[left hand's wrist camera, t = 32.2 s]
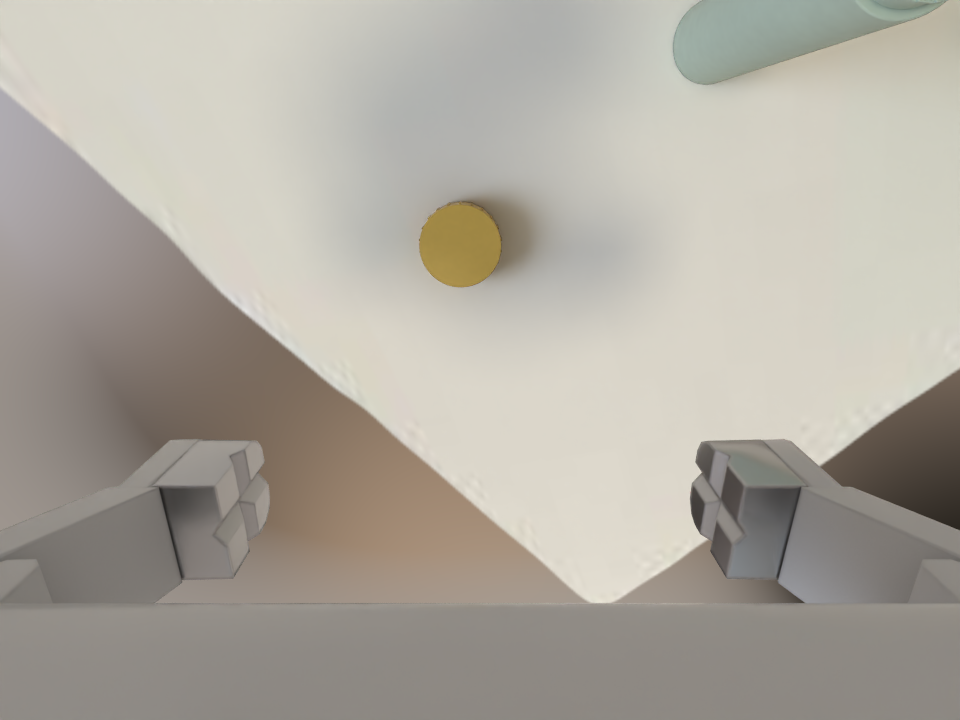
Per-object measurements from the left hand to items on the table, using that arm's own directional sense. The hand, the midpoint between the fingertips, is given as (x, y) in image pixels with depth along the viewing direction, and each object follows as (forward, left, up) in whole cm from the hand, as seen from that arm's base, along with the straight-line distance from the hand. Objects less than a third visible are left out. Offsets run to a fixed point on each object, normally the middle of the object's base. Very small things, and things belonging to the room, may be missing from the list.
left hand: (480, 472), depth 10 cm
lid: (-1, -1, -28) cm, 28 cm away
